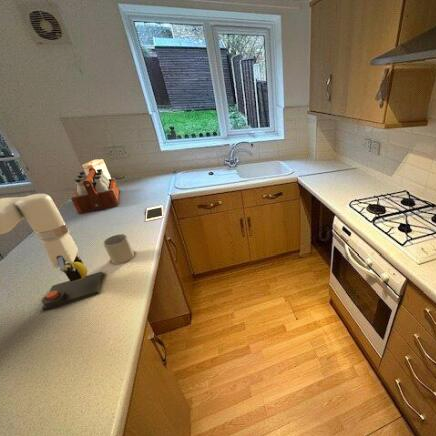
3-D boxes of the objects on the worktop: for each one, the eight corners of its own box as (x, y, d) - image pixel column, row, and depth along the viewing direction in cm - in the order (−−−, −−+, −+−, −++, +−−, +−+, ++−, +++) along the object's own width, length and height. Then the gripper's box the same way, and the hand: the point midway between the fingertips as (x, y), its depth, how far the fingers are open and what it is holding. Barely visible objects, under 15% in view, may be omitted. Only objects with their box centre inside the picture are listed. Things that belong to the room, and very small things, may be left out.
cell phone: (162, 206, 150) (162, 205, 149) (163, 218, 135) (163, 217, 135) (147, 209, 146) (146, 208, 146) (146, 222, 132) (145, 220, 132)
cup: (107, 262, 102) (98, 243, 97) (125, 251, 108) (117, 233, 104) (121, 266, 99) (112, 247, 94) (139, 255, 106) (131, 236, 101)
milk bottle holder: (120, 190, 178) (109, 164, 169) (119, 207, 152) (107, 177, 142) (84, 196, 168) (72, 170, 159) (77, 215, 142) (61, 185, 133)
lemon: (69, 287, 84) (58, 269, 81) (75, 277, 89) (64, 260, 85) (88, 282, 86) (78, 265, 82) (92, 272, 91) (83, 256, 87)
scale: (44, 313, 79) (38, 305, 77) (55, 289, 89) (50, 282, 87) (99, 295, 85) (95, 288, 83) (103, 275, 95) (99, 268, 93)
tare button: (46, 301, 79) (44, 298, 78) (49, 295, 82) (47, 292, 81) (58, 298, 80) (56, 294, 80) (60, 292, 83) (58, 289, 82)
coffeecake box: (104, 183, 193) (93, 159, 183) (113, 183, 193) (103, 159, 184) (92, 190, 179) (81, 164, 170) (102, 189, 180) (91, 164, 171)
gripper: (46, 223, 83) (70, 264, 91) (27, 248, 69) (58, 293, 78) (73, 217, 86) (94, 258, 94) (60, 240, 72) (86, 285, 81)
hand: (77, 273), depth 86 cm, fingers closed on lemon, 5 cm apart
